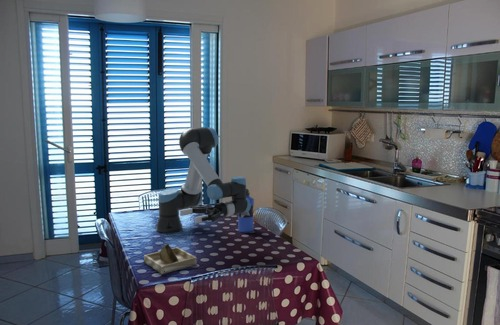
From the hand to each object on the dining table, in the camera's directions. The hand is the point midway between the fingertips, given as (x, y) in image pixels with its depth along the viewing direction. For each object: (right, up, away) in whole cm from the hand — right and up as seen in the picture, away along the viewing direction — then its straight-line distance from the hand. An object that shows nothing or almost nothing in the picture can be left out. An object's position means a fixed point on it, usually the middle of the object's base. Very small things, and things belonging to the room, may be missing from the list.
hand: (187, 216), depth 201 cm
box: (-8, -22, -3) cm, 23 cm away
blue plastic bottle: (+27, -14, +48) cm, 57 cm away
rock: (-8, -21, -2) cm, 23 cm away
